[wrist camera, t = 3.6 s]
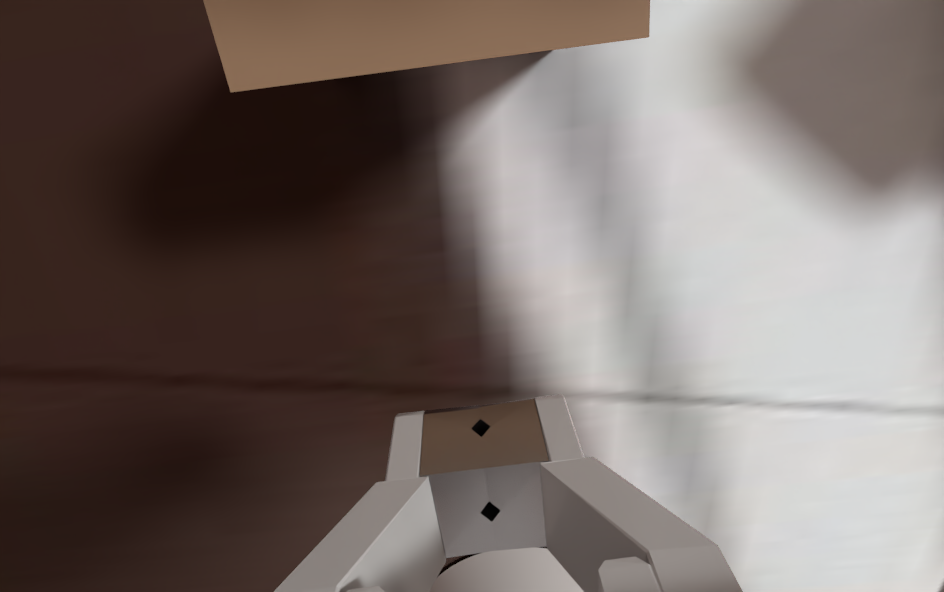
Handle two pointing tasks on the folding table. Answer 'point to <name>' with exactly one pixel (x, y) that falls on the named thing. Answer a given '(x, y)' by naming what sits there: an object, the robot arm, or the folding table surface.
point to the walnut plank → (401, 34)
